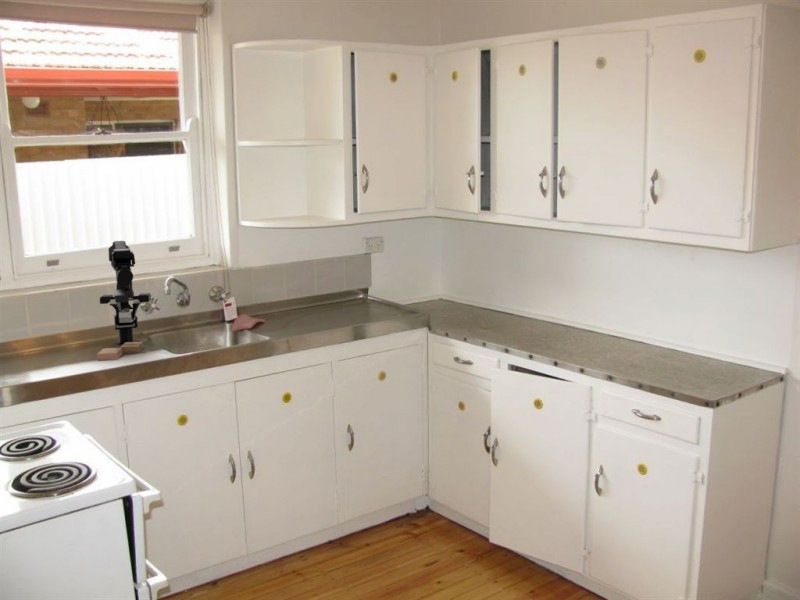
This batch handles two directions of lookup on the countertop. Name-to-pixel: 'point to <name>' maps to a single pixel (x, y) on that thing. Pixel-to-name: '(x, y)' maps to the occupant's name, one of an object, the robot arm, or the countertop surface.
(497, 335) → the countertop surface
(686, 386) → the countertop surface
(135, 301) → the robot arm
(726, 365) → the countertop surface
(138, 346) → the stand
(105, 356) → the stand
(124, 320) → the housing
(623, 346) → the countertop surface
